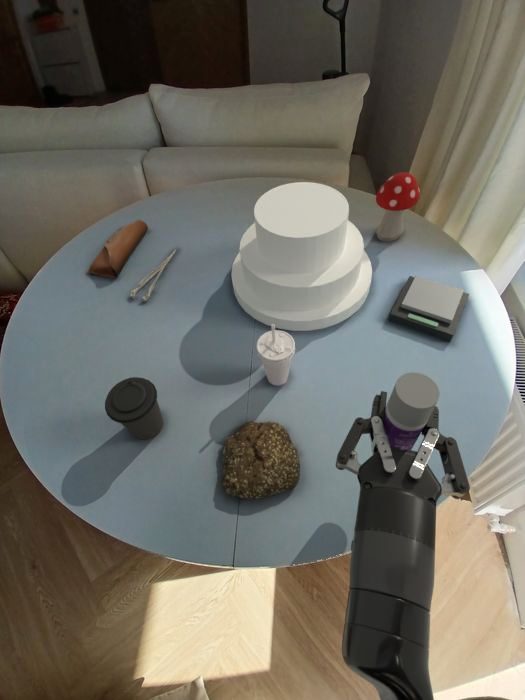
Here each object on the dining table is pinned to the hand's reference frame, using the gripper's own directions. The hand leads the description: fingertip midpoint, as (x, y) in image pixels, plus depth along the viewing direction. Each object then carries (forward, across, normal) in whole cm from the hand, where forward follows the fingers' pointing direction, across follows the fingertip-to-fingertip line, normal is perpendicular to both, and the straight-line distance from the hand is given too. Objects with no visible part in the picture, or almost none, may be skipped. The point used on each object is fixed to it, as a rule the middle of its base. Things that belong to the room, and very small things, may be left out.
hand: (405, 399), depth 48 cm
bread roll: (-5, +18, +18) cm, 26 cm away
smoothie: (+11, +20, +18) cm, 28 cm away
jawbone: (+31, +54, +17) cm, 64 cm away
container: (-3, 0, +9) cm, 9 cm away
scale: (+33, -6, +17) cm, 38 cm away
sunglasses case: (+37, +66, +17) cm, 78 cm away
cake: (+37, +21, +17) cm, 46 cm away
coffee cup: (-4, +39, +18) cm, 43 cm away
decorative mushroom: (+56, +4, +17) cm, 59 cm away
